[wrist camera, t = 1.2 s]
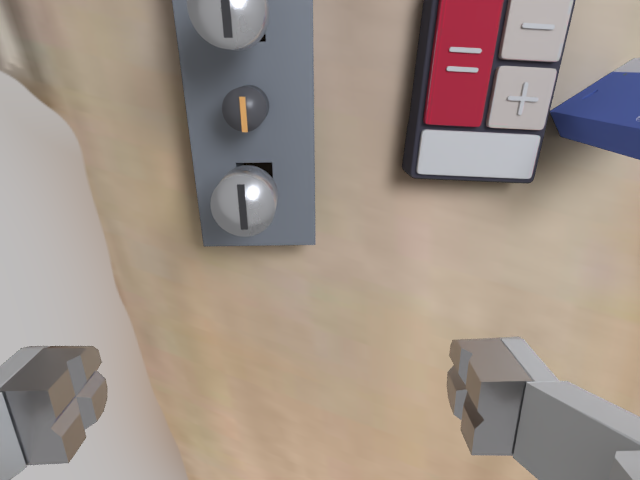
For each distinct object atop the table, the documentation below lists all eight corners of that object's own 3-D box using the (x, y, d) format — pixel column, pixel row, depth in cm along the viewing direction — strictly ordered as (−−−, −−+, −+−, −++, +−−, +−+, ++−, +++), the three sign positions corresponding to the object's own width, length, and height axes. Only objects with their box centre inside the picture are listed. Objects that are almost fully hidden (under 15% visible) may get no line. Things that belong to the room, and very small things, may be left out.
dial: (228, 85, 32) (219, 87, 28) (268, 84, 32) (263, 87, 28) (232, 125, 33) (223, 132, 29) (270, 124, 33) (265, 131, 29)
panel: (178, -66, 31) (161, -83, 27) (311, -66, 31) (311, -83, 28) (213, 229, 41) (203, 246, 37) (314, 228, 41) (315, 244, 37)
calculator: (586, -15, 30) (538, 186, 35) (553, -3, 34) (514, 175, 39) (438, -25, 30) (411, 180, 35) (422, -12, 34) (400, 170, 39)
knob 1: (209, -17, 29) (181, -40, 22) (272, -17, 29) (262, -41, 22) (216, 52, 31) (191, 49, 24) (275, 51, 31) (266, 48, 24)
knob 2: (226, 154, 34) (206, 176, 27) (280, 154, 34) (273, 175, 27) (231, 205, 35) (213, 237, 29) (282, 205, 35) (276, 237, 29)
